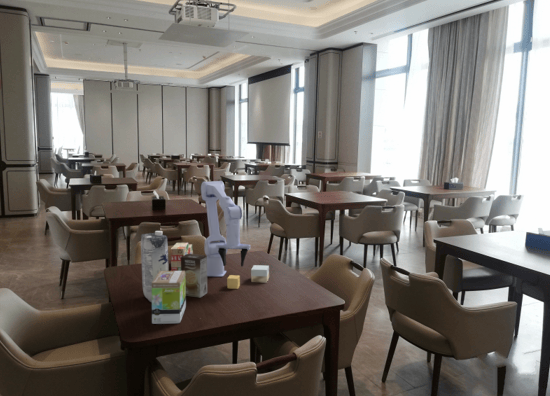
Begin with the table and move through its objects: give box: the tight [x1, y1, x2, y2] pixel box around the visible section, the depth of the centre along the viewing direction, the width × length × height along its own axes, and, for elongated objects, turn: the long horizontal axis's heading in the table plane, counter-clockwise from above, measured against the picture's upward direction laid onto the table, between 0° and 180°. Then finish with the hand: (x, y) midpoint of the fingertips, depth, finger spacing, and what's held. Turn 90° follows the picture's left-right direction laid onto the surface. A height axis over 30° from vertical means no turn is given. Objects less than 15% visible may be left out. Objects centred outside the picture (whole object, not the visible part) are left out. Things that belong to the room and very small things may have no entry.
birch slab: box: [250, 272, 270, 283], centre depth 197 cm, size 7×7×3 cm
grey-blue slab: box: [250, 264, 270, 277], centre depth 197 cm, size 7×7×3 cm
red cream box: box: [170, 242, 194, 271], centre depth 218 cm, size 21×6×12 cm, turn 179°
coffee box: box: [181, 253, 208, 298], centre depth 178 cm, size 9×6×16 cm
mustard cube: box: [226, 274, 241, 290], centre depth 188 cm, size 4×4×4 cm
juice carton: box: [140, 230, 170, 303], centre depth 173 cm, size 9×10×27 cm
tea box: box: [151, 270, 187, 325], centre depth 155 cm, size 15×10×15 cm
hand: (233, 265), depth 187 cm, fingers open, 7 cm apart
